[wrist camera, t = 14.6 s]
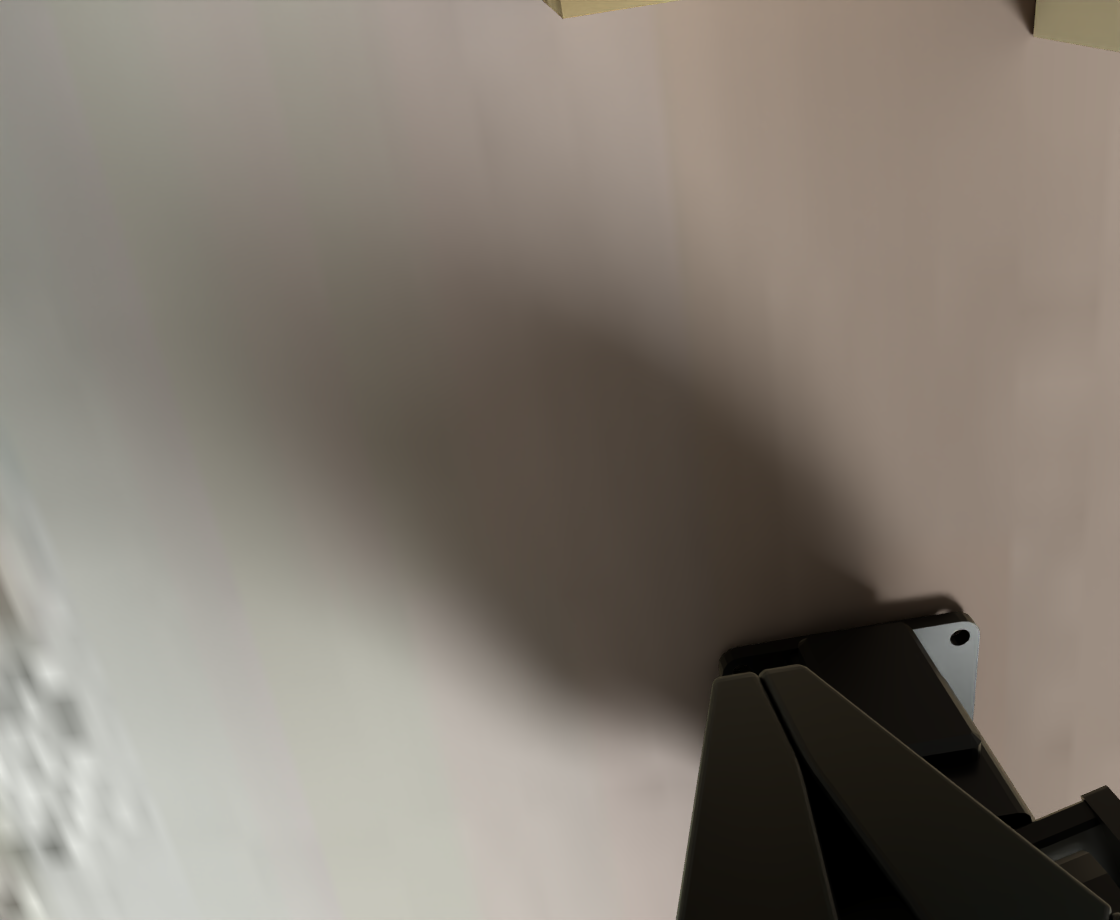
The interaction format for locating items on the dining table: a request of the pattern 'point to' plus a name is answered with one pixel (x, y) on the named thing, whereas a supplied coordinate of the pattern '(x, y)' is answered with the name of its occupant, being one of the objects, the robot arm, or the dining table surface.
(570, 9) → the block
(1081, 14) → the stop wall
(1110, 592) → the dining table surface
